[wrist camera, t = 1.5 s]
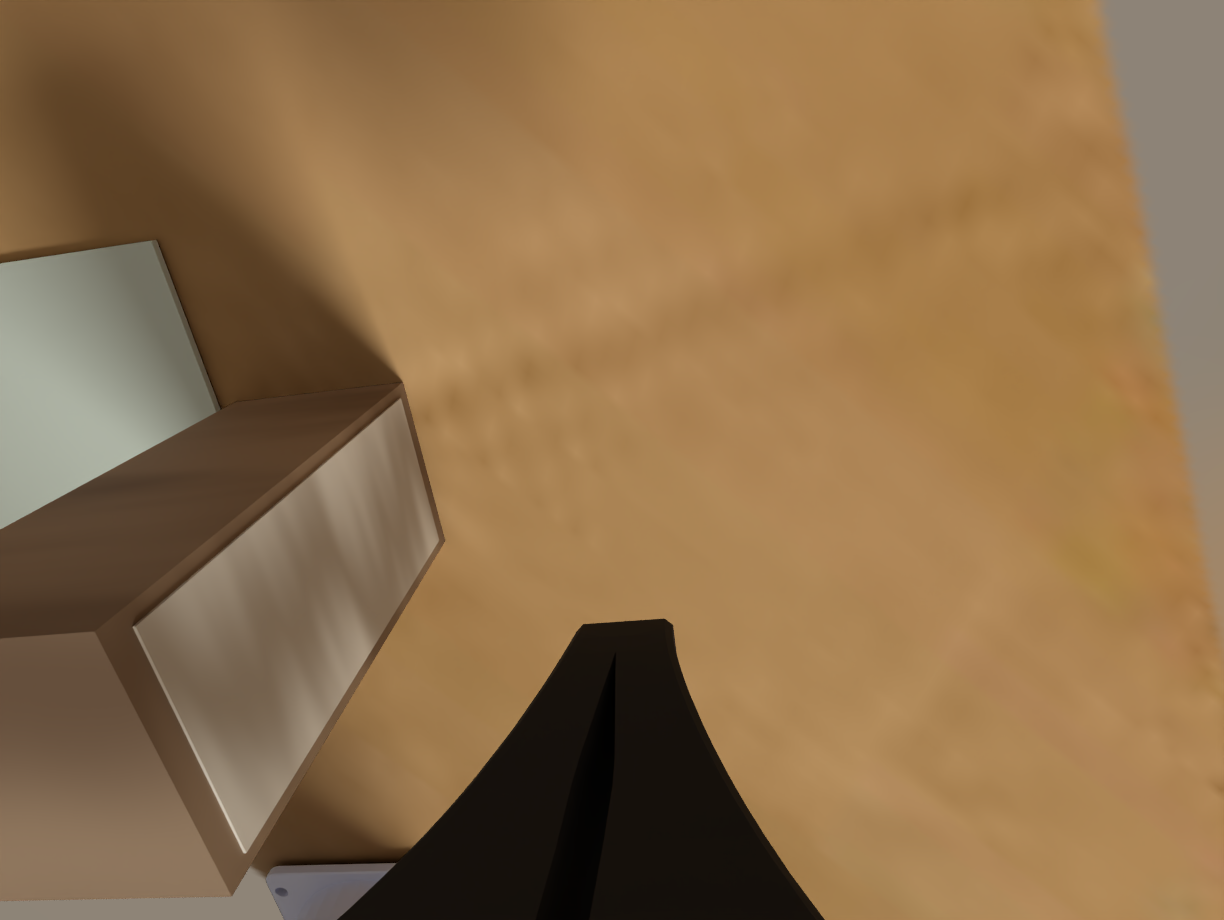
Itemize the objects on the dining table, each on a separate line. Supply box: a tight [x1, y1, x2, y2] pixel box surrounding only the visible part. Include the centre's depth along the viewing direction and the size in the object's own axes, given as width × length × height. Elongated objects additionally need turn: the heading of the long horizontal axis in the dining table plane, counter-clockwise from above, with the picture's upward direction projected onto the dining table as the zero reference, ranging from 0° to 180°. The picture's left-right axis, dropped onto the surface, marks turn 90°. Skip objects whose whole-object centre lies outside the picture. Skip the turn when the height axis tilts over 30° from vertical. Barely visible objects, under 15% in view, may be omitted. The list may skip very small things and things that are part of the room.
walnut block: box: [0, 382, 445, 901], centre depth 15 cm, size 5×5×11 cm
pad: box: [0, 240, 220, 529], centre depth 21 cm, size 14×11×1 cm
